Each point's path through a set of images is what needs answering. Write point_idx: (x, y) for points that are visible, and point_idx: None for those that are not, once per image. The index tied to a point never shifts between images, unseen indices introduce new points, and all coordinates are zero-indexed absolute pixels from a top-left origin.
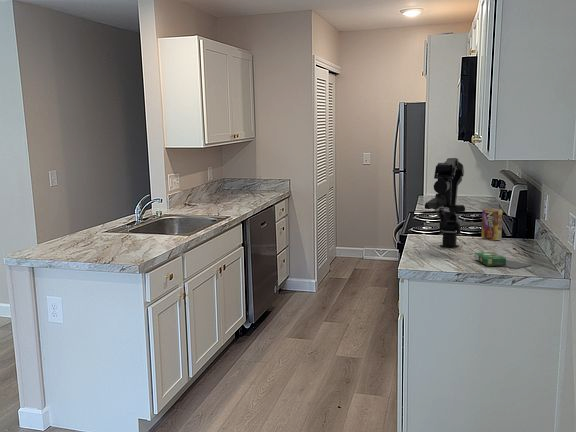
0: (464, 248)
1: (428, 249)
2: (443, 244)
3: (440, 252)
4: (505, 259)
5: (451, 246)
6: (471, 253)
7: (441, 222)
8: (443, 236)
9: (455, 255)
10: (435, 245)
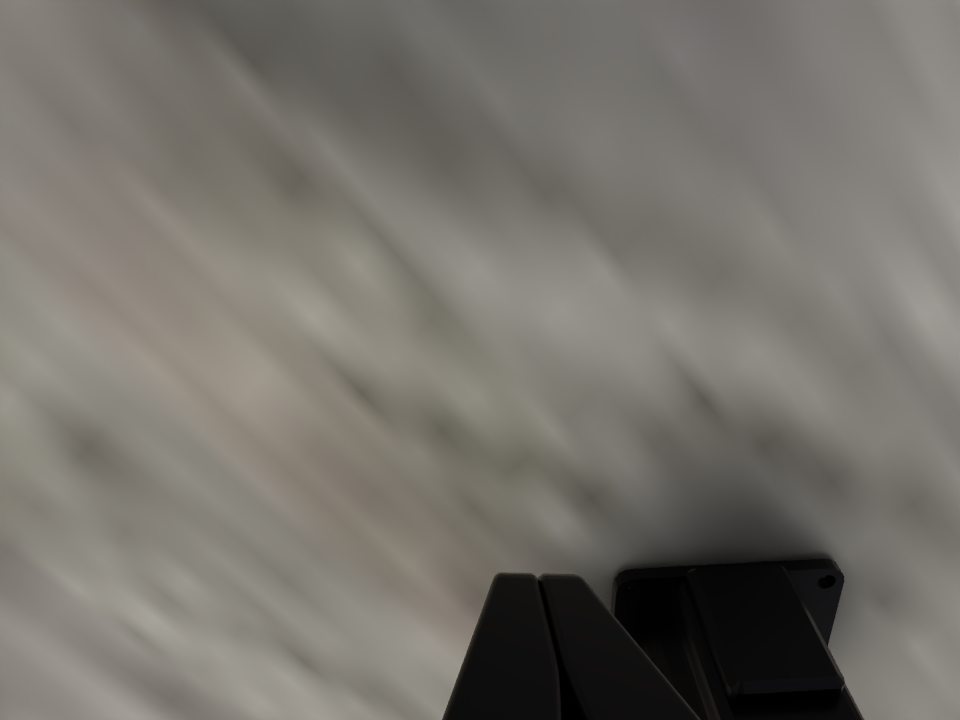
0: None
1: (871, 244)
2: (768, 579)
3: (537, 194)
4: None
5: (641, 614)
6: (136, 510)
7: (654, 690)
8: (842, 708)
9: (153, 187)
10: (928, 563)
